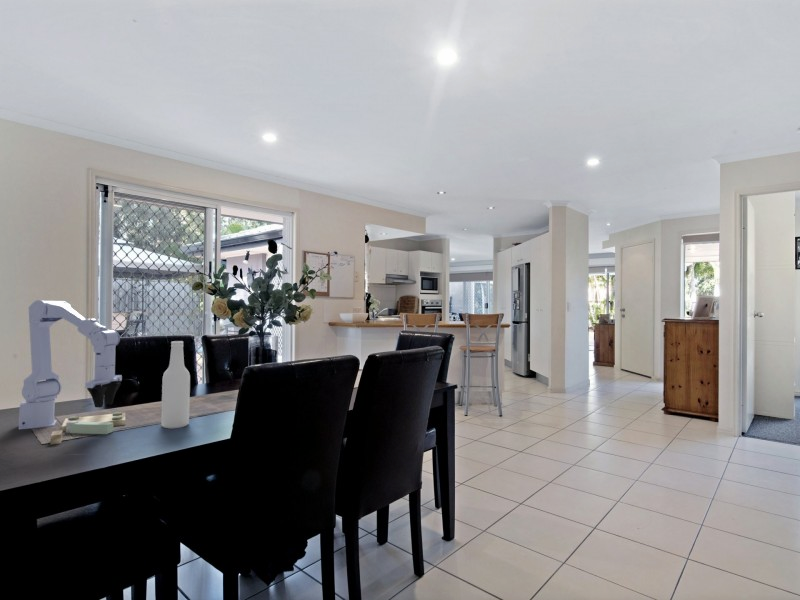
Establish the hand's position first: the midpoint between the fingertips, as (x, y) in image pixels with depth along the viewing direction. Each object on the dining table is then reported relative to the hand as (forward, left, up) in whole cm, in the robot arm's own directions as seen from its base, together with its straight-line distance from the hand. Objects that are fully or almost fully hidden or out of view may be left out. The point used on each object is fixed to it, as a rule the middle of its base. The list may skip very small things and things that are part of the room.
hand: (103, 405), depth 147 cm
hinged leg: (-4, -2, -8) cm, 9 cm away
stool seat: (-3, +2, -8) cm, 9 cm away
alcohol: (+21, -5, -9) cm, 24 cm away
